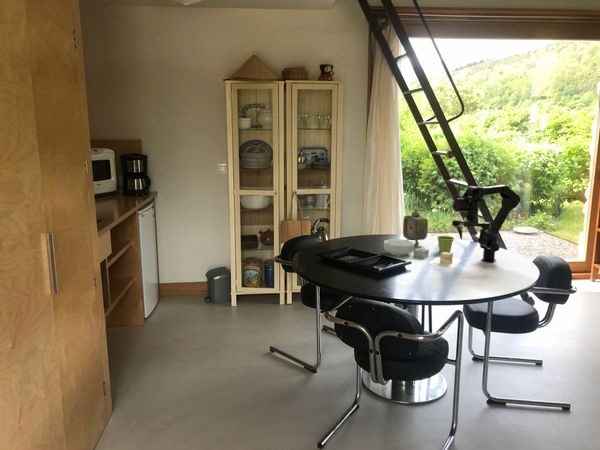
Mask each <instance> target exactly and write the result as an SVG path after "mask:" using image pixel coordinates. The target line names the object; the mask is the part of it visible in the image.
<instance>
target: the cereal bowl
mask: <svg viewBox="0 0 600 450" xmlns="http://www.w3.org/2000/svg"><path fill="white" fill-rule="evenodd" d="M414 244H415V242H414V241H412V240H408V241H407V239H398V238H397V239H395V238H394V239H386V240H384V242H383V248H384V250H385V251H386V252H388V253H389V254H390V255H391V256H395V257H397V256H398V257H403V256H406V255H408V254H410V253H413V252H414V251H413V250H415V249H414V248H415V246H414Z"/></svg>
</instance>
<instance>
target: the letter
mask: <svg viewBox="0 0 600 450" xmlns="http://www.w3.org/2000/svg"><path fill="white" fill-rule="evenodd" d="M461 261H462V259H459V258H452V263H451V264H443V263H440V255H439V256H436V257H434V259H432V260H430V261H429V262H428V265H433V266H443V267H449V268H454V267H455V266H456V265H458V264H459V263H460V262H461Z"/></svg>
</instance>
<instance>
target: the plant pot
mask: <svg viewBox="0 0 600 450" xmlns="http://www.w3.org/2000/svg"><path fill="white" fill-rule="evenodd" d="M436 238H437V241H438V243H437V244H438V253H440V254H441V253H442V252H448V253H451V252H452V251H451V250H452V247H453V246H452V245H453V242H454V240H455V237H453V236H448V235H438V236H437V237H436Z"/></svg>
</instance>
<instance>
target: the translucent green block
mask: <svg viewBox="0 0 600 450" xmlns="http://www.w3.org/2000/svg"><path fill="white" fill-rule="evenodd" d="M429 251H430V249H427V248H426V249H425V248H420V247H418V248H416V249H413V251H412V252H413V254H412V255H413V258H417V259H427V258H428V257H429Z"/></svg>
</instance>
